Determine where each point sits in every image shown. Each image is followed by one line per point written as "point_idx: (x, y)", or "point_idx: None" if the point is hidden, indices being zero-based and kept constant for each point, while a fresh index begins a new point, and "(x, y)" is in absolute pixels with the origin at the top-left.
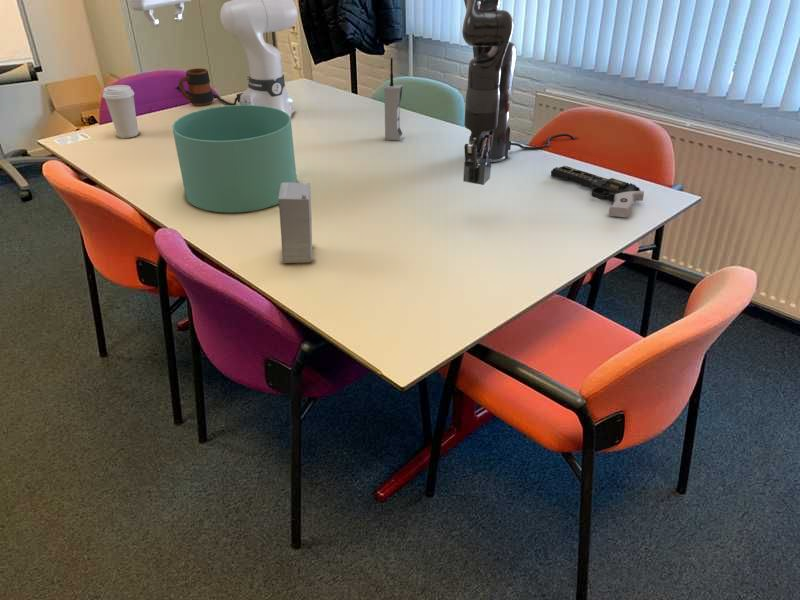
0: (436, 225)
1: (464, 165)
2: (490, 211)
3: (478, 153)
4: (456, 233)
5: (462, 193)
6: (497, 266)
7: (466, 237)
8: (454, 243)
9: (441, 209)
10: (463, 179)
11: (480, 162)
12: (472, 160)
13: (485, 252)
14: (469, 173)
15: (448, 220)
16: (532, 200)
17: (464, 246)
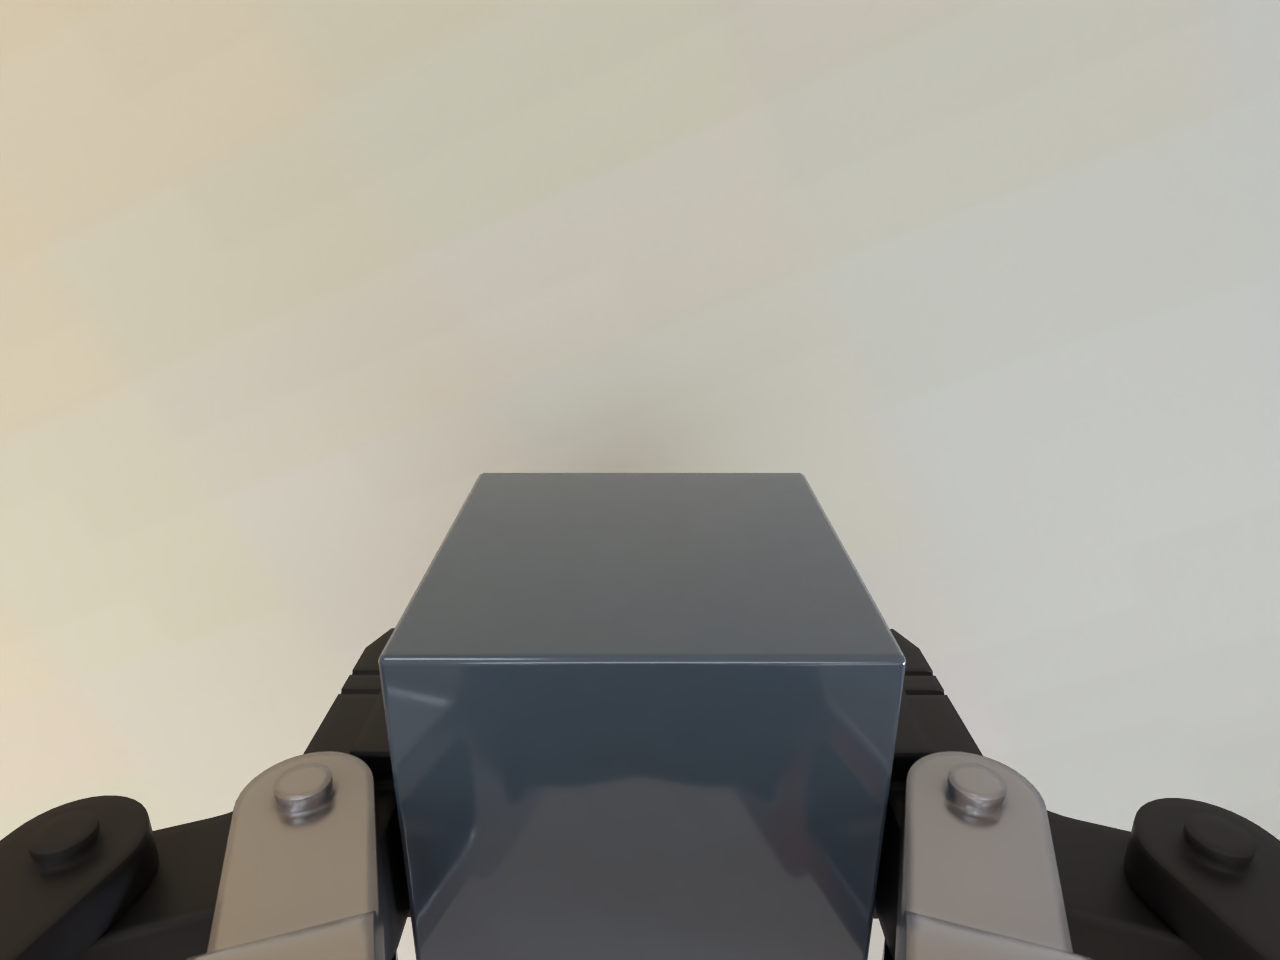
0: (325, 163)
1: (400, 620)
2: (840, 517)
3: (898, 906)
4: (286, 402)
5: (1190, 107)
6: (21, 815)
7: (269, 502)
8: (115, 454)
9: (695, 51)
10: (475, 485)
11: (554, 956)
12: (580, 789)
13: (141, 699)
14: (333, 705)
15: (486, 232)
16: (1177, 746)
17: (123, 541)
